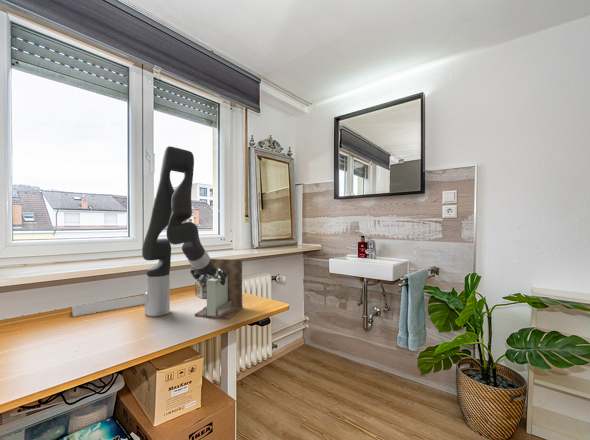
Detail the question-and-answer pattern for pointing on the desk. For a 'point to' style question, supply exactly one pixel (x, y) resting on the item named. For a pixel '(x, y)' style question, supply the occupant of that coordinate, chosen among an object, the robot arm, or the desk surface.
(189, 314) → the desk surface
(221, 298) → the pale green rectangular block
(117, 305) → the decorative molding
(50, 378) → the desk surface
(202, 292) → the coffee box
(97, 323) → the desk surface
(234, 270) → the wooden l-shaped stand
